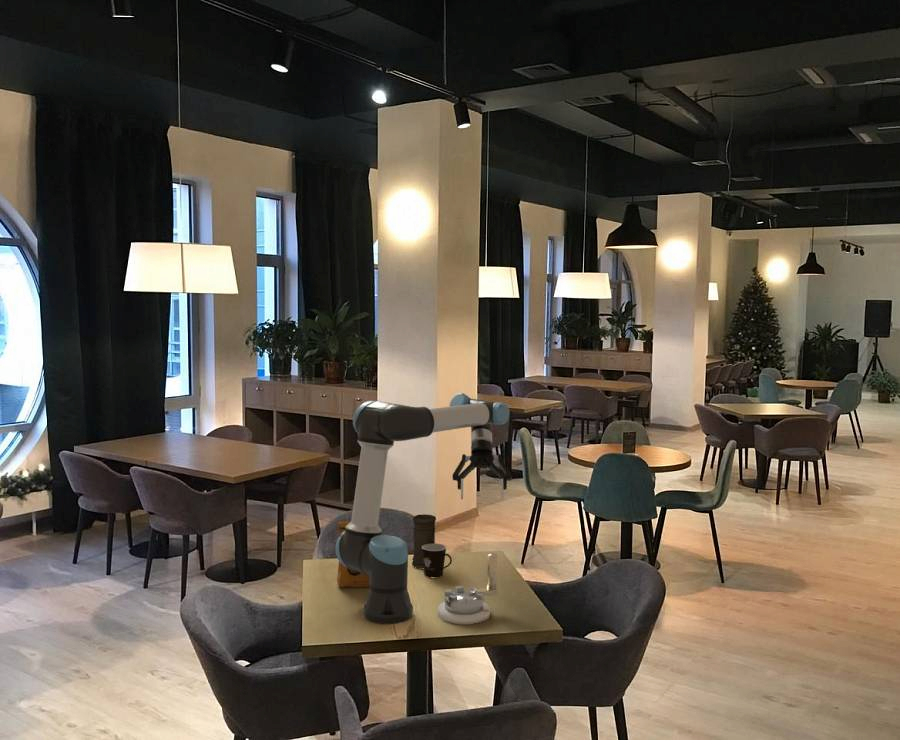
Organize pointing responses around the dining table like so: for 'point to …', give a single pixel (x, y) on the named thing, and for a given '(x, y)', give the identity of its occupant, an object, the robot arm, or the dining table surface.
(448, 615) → the nut base plate
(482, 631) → the dining table surface
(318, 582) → the dining table surface
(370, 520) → the robot arm
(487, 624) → the dining table surface
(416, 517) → the container
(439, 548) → the coffee mug
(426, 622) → the dining table surface
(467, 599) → the grey and clear pieces
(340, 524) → the coffee package
